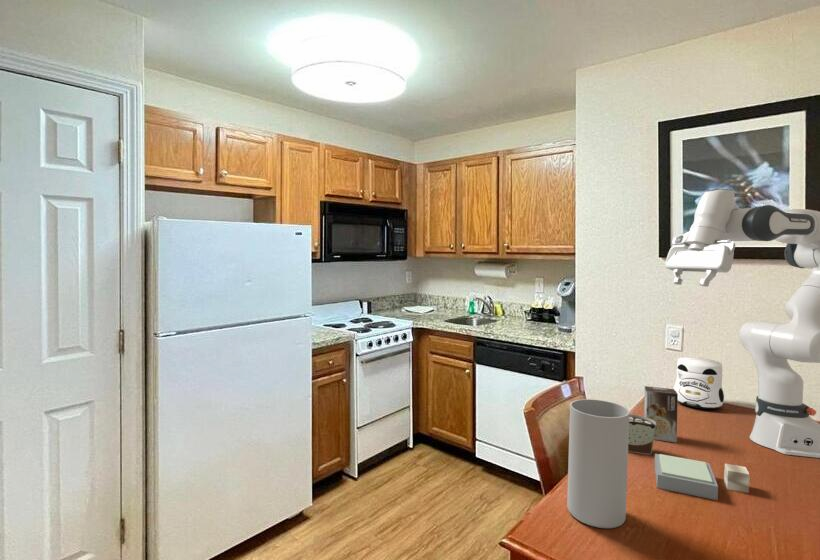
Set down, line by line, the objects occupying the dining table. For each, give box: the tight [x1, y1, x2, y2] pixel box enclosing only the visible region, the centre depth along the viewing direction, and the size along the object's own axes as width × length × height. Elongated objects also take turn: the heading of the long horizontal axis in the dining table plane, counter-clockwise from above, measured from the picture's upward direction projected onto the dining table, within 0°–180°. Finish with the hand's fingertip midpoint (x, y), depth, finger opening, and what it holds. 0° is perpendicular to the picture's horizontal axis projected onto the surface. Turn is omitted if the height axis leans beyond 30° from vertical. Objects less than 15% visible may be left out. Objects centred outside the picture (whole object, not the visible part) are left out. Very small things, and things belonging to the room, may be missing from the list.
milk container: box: [673, 356, 725, 410], centre depth 181 cm, size 17×17×18 cm
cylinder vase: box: [566, 398, 630, 529], centre depth 103 cm, size 12×12×25 cm
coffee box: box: [643, 385, 679, 443], centre depth 148 cm, size 9×6×16 cm
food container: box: [628, 413, 658, 456], centre depth 139 cm, size 12×6×10 cm, turn 71°
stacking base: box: [654, 453, 719, 501], centre depth 119 cm, size 13×14×4 cm
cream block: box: [723, 463, 750, 494], centre depth 116 cm, size 4×4×5 cm
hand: (689, 285), depth 132 cm, fingers open, 8 cm apart
